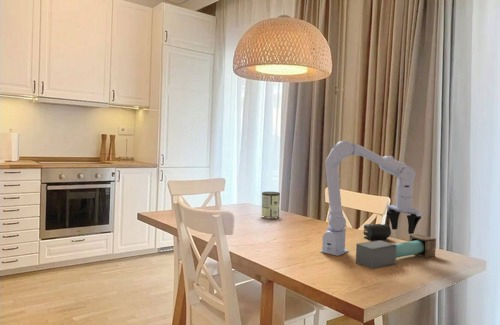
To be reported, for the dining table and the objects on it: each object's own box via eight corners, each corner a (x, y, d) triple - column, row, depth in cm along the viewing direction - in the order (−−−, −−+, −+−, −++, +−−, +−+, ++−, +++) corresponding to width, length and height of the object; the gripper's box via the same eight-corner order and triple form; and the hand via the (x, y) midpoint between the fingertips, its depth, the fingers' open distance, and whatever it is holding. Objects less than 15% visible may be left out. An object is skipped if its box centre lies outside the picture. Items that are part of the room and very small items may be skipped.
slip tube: (386, 262, 138) (387, 248, 138) (376, 258, 142) (376, 244, 142) (428, 253, 150) (429, 241, 150) (417, 250, 154) (417, 238, 154)
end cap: (372, 241, 170) (372, 226, 170) (362, 237, 177) (363, 223, 177) (390, 240, 174) (391, 225, 173) (380, 236, 180) (381, 222, 180)
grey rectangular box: (372, 269, 133) (372, 249, 132) (355, 262, 139) (356, 243, 139) (395, 264, 139) (396, 245, 138) (378, 258, 145) (379, 240, 145)
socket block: (426, 258, 147) (427, 240, 147) (409, 252, 154) (409, 235, 154) (435, 256, 150) (436, 238, 149) (417, 251, 157) (417, 234, 156)
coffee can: (266, 214, 229) (267, 190, 228) (282, 216, 223) (283, 192, 222) (258, 217, 220) (258, 192, 219) (273, 219, 214) (274, 194, 214)
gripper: (427, 198, 144) (425, 234, 145) (396, 193, 157) (394, 226, 158) (415, 199, 141) (413, 236, 142) (384, 194, 153) (382, 228, 154)
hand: (402, 231), depth 149 cm, fingers open, 7 cm apart
